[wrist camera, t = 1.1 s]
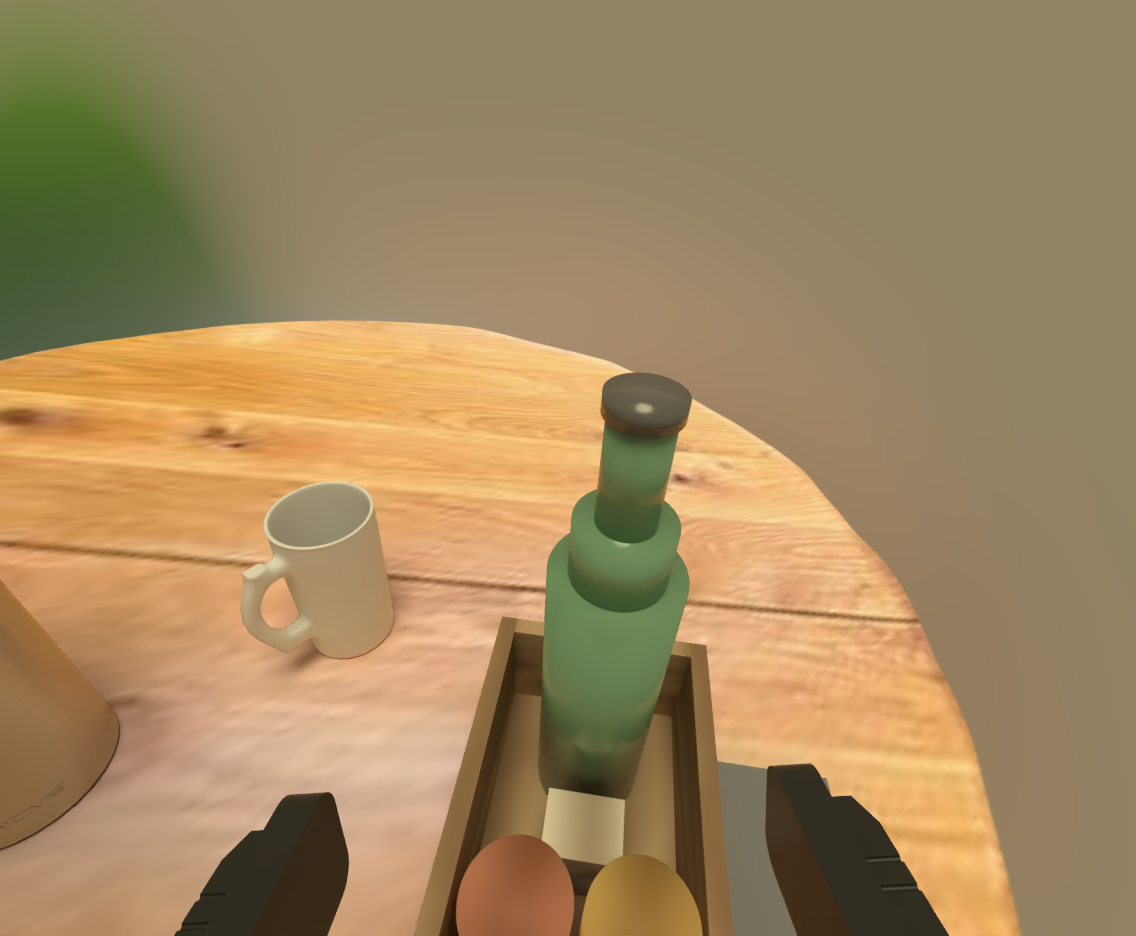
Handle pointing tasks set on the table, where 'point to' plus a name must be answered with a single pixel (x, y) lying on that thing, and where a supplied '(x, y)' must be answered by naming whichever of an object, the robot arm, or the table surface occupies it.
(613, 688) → the green bottle
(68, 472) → the table surface
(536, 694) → the crate
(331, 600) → the mug
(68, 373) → the table surface
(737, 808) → the coaster
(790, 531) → the table surface
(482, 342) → the table surface
